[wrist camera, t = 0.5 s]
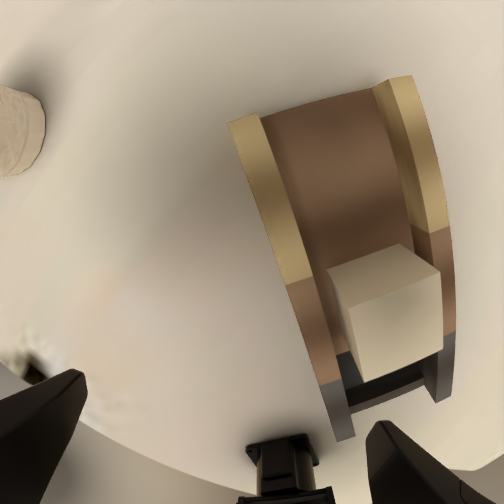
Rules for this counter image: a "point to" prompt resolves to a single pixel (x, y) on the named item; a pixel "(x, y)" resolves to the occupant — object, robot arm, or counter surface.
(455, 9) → the counter surface
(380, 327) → the cream block
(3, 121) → the white cup
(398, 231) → the channel
